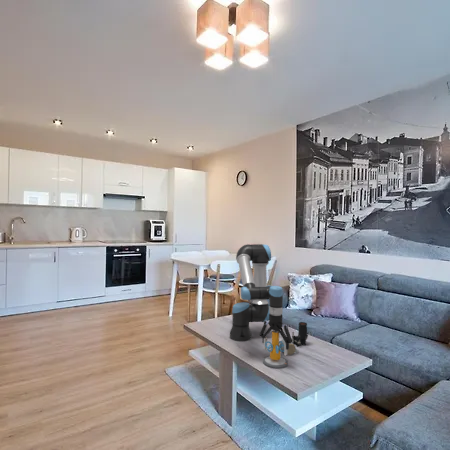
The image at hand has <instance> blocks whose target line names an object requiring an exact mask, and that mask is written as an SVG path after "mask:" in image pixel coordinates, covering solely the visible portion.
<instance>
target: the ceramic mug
mask: <svg viewBox="0 0 450 450" xmlns="http://www.w3.org/2000/svg"><path fill="white" fill-rule="evenodd" d="M280 341H282V343H283V345H284V344H285V341H284V339H283V338H282V339H281V340H280ZM280 344H281V343H279V345H280ZM280 347H281V346H280ZM280 349H281V350H284V346H282V348H280ZM298 353H299V349H298V348H296V345H294V344H293V343H289V349H288V350H287V356H292V355H293V354H298Z"/></svg>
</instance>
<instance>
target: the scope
mask: <svg viewBox="0 0 450 450" xmlns="http://www.w3.org/2000/svg"><path fill="white" fill-rule="evenodd" d="M307 326H308V323H307V322H304V321H300V322H298V333H297V335H294V334H295V332H294V331H292V334H291V335H292V336H291V338H292V343H293V344H294V345H295V347H297V348H299V347H301V346H306V344H307V340H308V337H309V334H308V327H307Z"/></svg>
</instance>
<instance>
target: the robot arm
mask: <svg viewBox="0 0 450 450" xmlns="http://www.w3.org/2000/svg"><path fill="white" fill-rule="evenodd" d="M235 256H236V257H235V260H236V263H237V264H238V266H239V272H240V278H241V282H242V286H241V288H240V298H241V299H242V300H246V301H252V302H251V304H250V303H249V302H245V301H243V302H237V303H235V304H234V305H233V306H232V310H231V311H232V321H231V322H232V323H231V324H232V325H231V328H230V331H229V332H230V333H229V339H230V340H233V341H237V342H238V341H239V342H245V341H250V340H251V339H252V331H251V329H250V323H263V326H262V327H261V330H260V332H259V336H258V337H262V344H263V351H267V348H266V346H265V343H266V342H267V341H268V337H267V336H268V334H269V333H270V332H272V331H274V330H275V331H278V332H279V335H280V336H281V338H282V339H284V341H285V344H284V352H283V354H284V355H283V356H284V357H285V356H288V354H287V350H288V349H289V343H292V336H291V333H290V331H289V324H286V323H285V324H283V309H284V308H283V304H284V303H283V302H284V301H283V300H284V299H283V298H284V291H283V287H282V286H279V285H267V266H268V265H269V264H270V263H269V262H270V261H272V251H271V248H270V246H269V244H262V243H260V244H259V243H258V244H255V243H253V244H252V243H251V244H250V243H249V244H248V243H247V244H244V245H242V246H241V247H240V248H239V249H238V251H237V252H236V255H235ZM251 264H252V265H253V269H252V266H251ZM268 326H269V327H268ZM267 327H268V329H266V328H267Z"/></svg>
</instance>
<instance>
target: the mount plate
mask: <svg viewBox="0 0 450 450" xmlns="http://www.w3.org/2000/svg"><path fill="white" fill-rule="evenodd" d="M288 361H289V360H288V359H287V358H285V357H283V356H281V358H280V359H279V360H273V359H271V358H270V355H267V356H264V357H263V358H262V364H263V365H264V366H266V367H268V368H272V369H284V368H286V367H288V364H289V362H288Z"/></svg>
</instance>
